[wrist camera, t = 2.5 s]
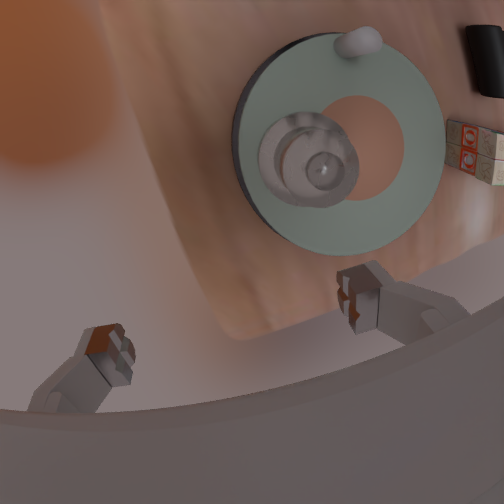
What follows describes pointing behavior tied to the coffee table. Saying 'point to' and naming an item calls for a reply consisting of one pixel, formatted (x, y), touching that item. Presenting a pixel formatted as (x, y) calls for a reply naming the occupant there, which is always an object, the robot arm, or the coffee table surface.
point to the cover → (308, 160)
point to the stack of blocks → (476, 151)
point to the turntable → (351, 139)
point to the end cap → (488, 58)
